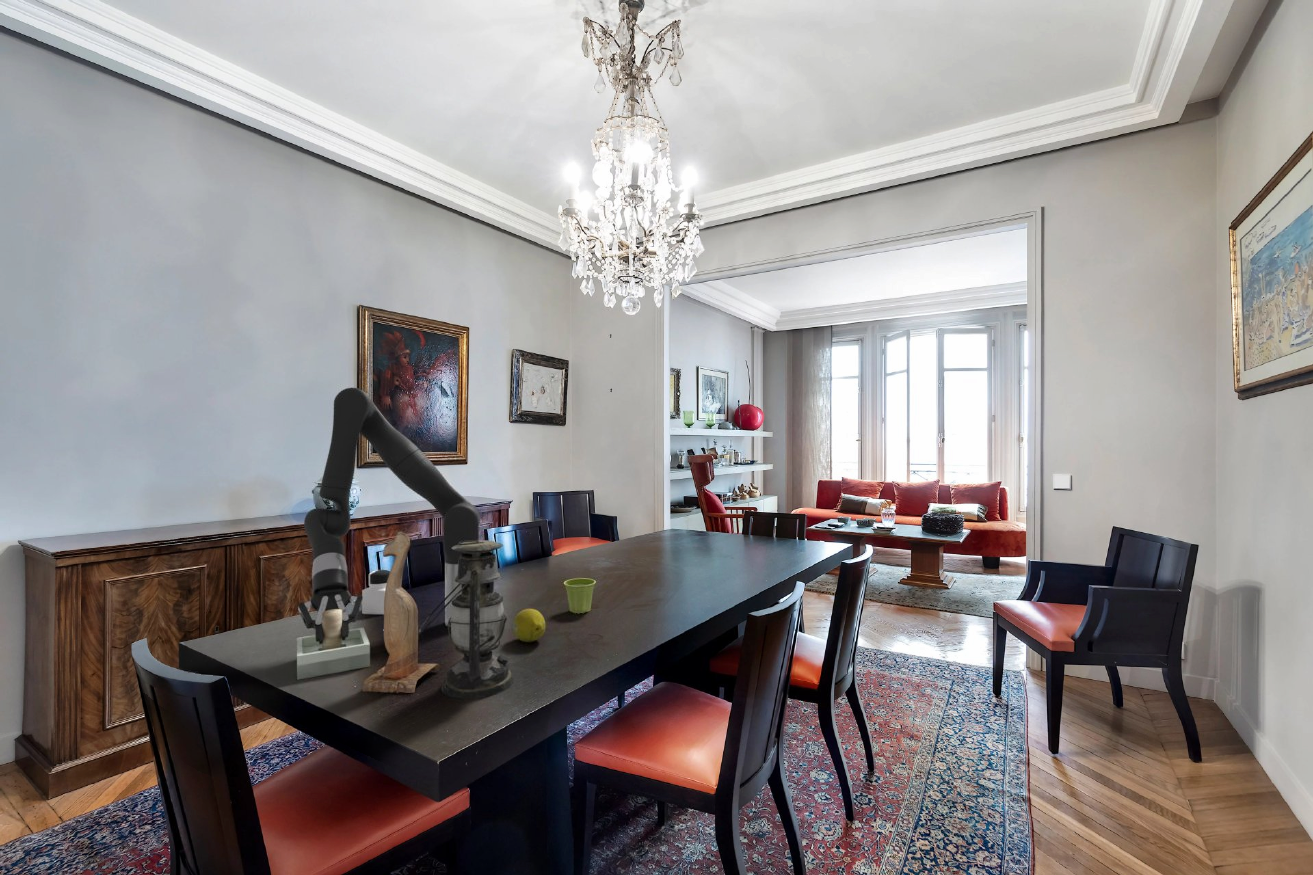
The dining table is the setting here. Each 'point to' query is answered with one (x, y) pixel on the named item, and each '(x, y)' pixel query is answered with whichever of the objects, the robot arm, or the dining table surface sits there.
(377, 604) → the medicine bottle
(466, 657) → the lantern
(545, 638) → the dining table surface
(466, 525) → the robot arm
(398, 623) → the bird sculpture
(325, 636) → the peg
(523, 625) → the lemon
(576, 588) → the plant pot
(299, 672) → the socket box
